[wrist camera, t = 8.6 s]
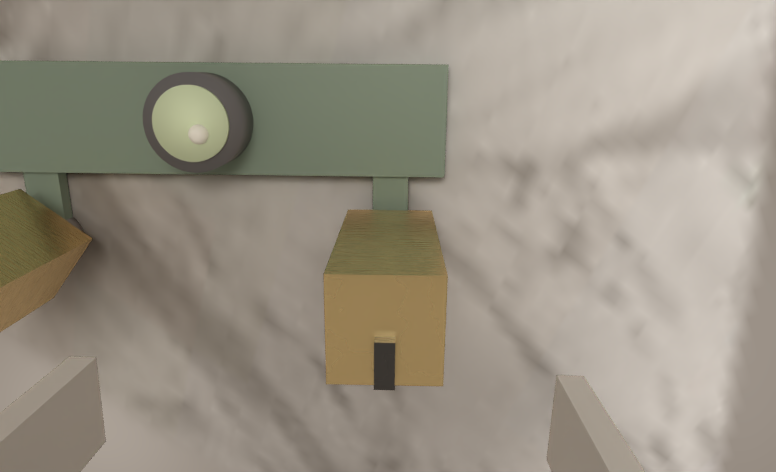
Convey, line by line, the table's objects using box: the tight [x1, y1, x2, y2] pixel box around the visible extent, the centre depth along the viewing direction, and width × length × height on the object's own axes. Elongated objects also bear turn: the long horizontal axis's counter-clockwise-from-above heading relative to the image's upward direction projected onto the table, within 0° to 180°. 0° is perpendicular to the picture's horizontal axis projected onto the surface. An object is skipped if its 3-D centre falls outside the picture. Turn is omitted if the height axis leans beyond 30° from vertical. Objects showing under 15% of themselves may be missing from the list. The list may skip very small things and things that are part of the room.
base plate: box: [0, 61, 448, 232], centre depth 30 cm, size 12×26×4 cm, turn 89°
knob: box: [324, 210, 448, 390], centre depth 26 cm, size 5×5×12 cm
